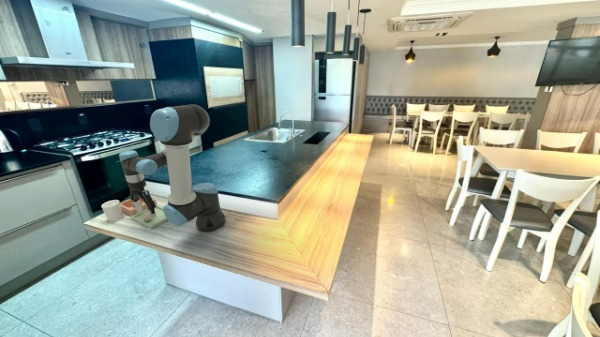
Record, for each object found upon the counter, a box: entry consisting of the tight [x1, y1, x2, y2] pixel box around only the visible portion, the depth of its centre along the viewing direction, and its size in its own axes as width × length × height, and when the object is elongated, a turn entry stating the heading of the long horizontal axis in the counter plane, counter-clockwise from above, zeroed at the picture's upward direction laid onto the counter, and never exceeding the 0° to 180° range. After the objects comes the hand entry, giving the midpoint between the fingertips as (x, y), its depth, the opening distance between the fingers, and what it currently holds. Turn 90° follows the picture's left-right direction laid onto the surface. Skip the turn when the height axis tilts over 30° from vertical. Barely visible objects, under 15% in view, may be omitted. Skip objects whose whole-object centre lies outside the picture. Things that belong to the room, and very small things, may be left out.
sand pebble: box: [142, 212, 151, 221], centre depth 127 cm, size 5×5×5 cm
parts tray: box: [130, 204, 169, 230], centre depth 131 cm, size 20×15×2 cm
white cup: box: [101, 199, 124, 222], centre depth 129 cm, size 8×8×10 cm
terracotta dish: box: [120, 197, 158, 217], centre depth 139 cm, size 15×14×5 cm
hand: (146, 214), depth 127 cm, fingers open, 13 cm apart
